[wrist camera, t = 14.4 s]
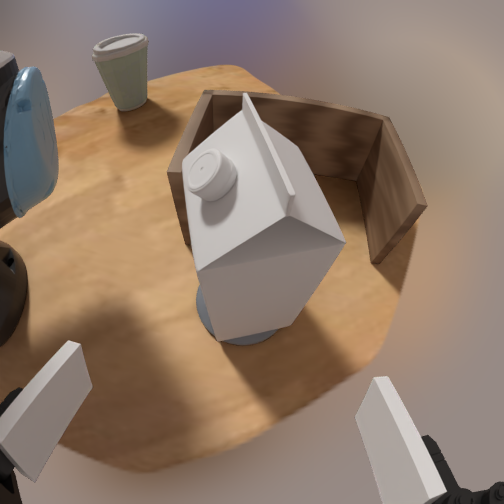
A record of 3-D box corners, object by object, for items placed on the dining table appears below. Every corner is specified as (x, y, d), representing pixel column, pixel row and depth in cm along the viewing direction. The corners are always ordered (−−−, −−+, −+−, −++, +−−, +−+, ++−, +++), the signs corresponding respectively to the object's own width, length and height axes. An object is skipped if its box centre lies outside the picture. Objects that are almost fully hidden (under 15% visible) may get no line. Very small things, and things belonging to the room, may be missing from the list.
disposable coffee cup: (162, 89, 48) (155, 26, 36) (149, 115, 43) (136, 42, 30) (117, 95, 48) (105, 36, 35) (99, 122, 43) (79, 55, 30)
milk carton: (271, 261, 29) (310, 91, 13) (291, 326, 26) (381, 186, 9) (203, 274, 28) (171, 101, 11) (217, 342, 25) (179, 213, 8)
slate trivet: (190, 339, 25) (189, 338, 25) (204, 256, 30) (203, 254, 29) (285, 349, 25) (286, 348, 25) (288, 265, 30) (289, 262, 29)
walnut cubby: (185, 244, 30) (166, 171, 21) (208, 157, 37) (204, 89, 28) (379, 263, 30) (427, 205, 21) (362, 176, 38) (389, 117, 28)
